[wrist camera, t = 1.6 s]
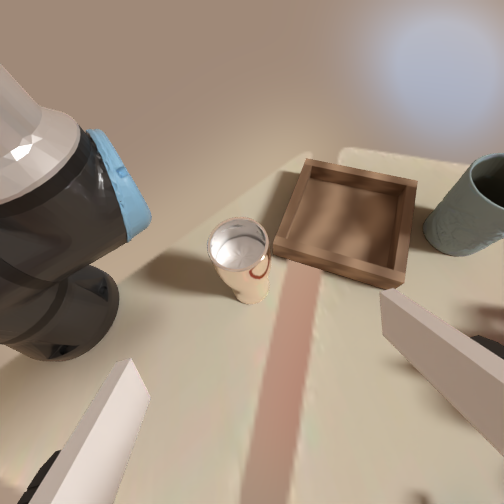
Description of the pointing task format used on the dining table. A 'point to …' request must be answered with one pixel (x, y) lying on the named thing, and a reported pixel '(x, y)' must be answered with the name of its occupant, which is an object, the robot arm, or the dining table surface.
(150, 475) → the dining table surface
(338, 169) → the tray
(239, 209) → the dining table surface
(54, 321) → the robot arm
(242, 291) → the beer glass
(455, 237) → the grey green cup
